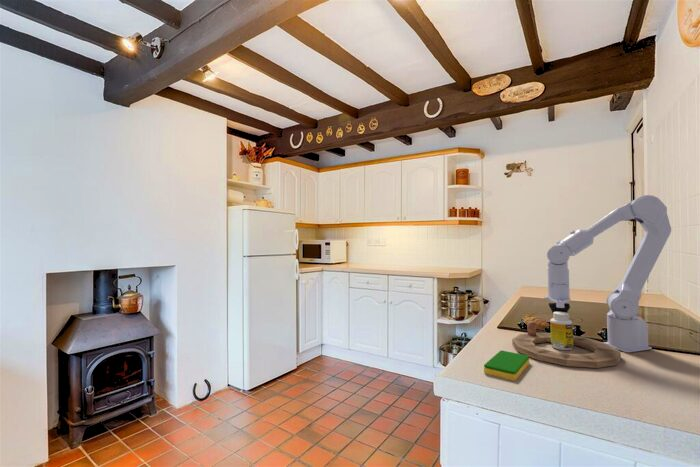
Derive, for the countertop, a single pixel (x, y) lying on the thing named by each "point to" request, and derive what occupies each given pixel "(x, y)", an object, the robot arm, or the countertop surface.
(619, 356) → the faceted tan ring
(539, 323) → the pastry
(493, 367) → the dish sponge
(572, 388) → the countertop surface
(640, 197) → the robot arm
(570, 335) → the supplement bottle
